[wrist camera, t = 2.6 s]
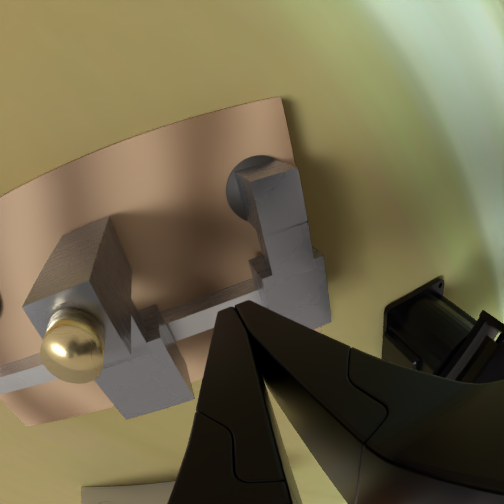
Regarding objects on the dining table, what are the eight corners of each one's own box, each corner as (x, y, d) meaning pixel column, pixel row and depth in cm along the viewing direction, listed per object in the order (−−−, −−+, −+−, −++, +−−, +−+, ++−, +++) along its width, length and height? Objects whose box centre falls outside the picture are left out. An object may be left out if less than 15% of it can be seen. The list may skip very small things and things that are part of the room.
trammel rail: (283, 156, 15) (309, 164, 12) (309, 297, 19) (331, 321, 16) (-63, 295, 11) (-82, 320, 9) (10, 397, 15) (3, 426, 13)
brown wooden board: (271, 97, 15) (282, 96, 13) (313, 320, 21) (323, 332, 20) (-82, 249, 11) (-94, 259, 10) (29, 414, 17) (26, 428, 16)
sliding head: (121, 210, 13) (103, 296, 7) (183, 349, 17) (212, 460, 11) (52, 239, 12) (-5, 337, 6) (124, 368, 16) (131, 480, 10)
